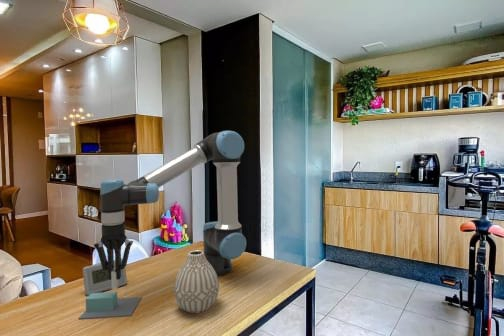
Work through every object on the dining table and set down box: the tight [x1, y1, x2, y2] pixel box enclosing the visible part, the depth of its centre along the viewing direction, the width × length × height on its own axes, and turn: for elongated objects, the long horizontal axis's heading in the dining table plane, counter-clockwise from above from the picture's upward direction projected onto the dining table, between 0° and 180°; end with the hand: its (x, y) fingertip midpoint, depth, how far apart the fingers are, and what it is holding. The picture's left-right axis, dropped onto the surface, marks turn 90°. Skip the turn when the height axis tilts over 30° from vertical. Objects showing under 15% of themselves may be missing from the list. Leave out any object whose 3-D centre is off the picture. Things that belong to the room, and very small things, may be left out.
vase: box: [173, 249, 220, 314], centre depth 106 cm, size 16×16×20 cm
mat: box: [78, 296, 143, 320], centre depth 107 cm, size 17×13×1 cm
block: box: [85, 291, 118, 312], centre depth 106 cm, size 4×4×9 cm
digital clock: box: [82, 258, 128, 296], centre depth 123 cm, size 16×9×11 cm, turn 120°
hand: (115, 287), depth 107 cm, fingers closed
